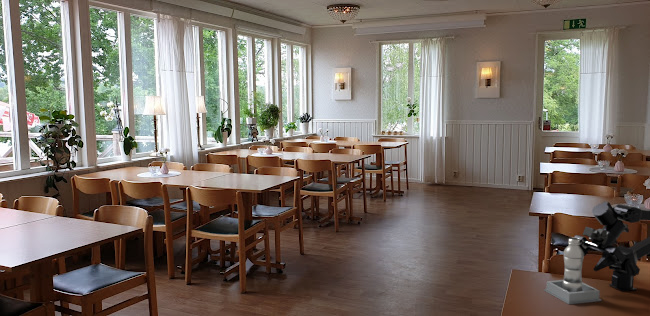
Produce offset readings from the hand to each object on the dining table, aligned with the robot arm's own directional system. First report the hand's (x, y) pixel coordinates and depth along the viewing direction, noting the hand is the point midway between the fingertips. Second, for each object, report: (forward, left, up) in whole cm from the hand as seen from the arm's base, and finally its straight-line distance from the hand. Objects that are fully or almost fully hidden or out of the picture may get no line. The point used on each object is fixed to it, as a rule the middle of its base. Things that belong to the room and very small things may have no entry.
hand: (583, 266), depth 177 cm
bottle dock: (+5, 0, -10) cm, 11 cm away
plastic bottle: (+5, 0, -10) cm, 11 cm away
